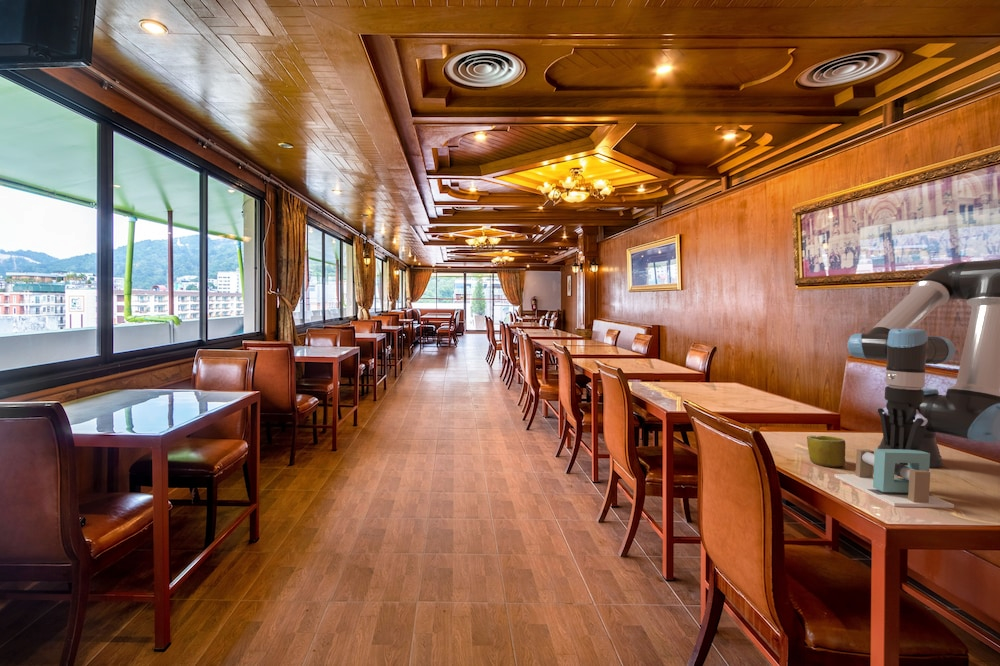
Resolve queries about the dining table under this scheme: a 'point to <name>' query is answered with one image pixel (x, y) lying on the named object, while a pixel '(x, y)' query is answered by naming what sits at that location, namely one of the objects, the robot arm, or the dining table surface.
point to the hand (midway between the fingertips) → (899, 475)
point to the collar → (886, 466)
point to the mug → (826, 450)
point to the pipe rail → (913, 498)
